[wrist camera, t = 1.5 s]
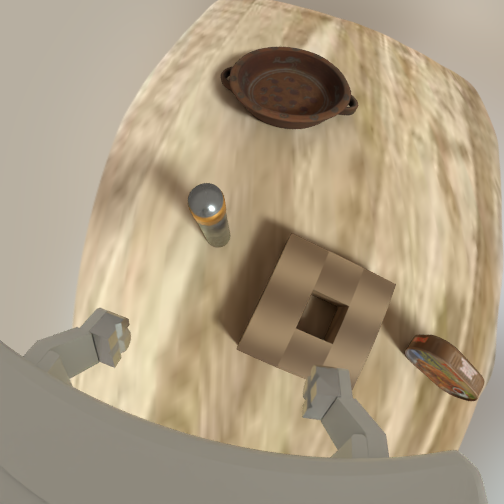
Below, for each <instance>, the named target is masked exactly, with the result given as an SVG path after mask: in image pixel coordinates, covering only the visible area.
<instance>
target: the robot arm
mask: <svg viewBox="0 0 504 504" xmlns="http://www.w3.org/2000/svg"><path fill="white" fill-rule="evenodd" d="M128 326H129V319H127V318H126V317H123V316H120V315H118V314H115V313H113V312H110V311H107V310H104V309H102V308H98V309H96V310H95V311H94V313H93V314H92V315H91V316H90V317H89V318H88V319H87V320H86V321H85V323H84V324H83V325H82V326H81V327H80V328H78V327H76V328H73V329H70V330H67V331H64V332H62V333H59V334H56V335H53V336H50V337H47V338H44V339H42V340H39V341H37V342H36V343H35V344H34V345H33V346H32V347H31V348H30V349H29V350H28V352H27V353H26V354H25V355H24V356H21V355H19V354H18V353H17V352H15V351H14V350H12V349H11V348H10V347H8V346H7V345H5V344H4V343H3V342H2V341H0V504H488V500H487V496H486V492H485V487H484V484H483V480H482V477H481V474H480V472H479V471H478V469H477V467H476V466H475V465H474V464H473V463H471V461H470V460H469V459H467V458H466V457H465V456H464V455H463V454H461V453H460V452H459V451H457V450H448V451H443V452H437V453H430V454H422V455H413V456H403V457H389V453H388V446H387V439H386V434H385V433H384V431H383V430H382V429H381V428H380V427H379V426H378V424H377V423H376V422H375V421H374V420H373V419H372V417H371V416H370V415H369V414H368V413H367V412H366V410H365V409H364V408H363V407H362V406H361V404H360V403H359V402H358V401H357V400H356V399H353V397H352V389H351V381H350V374H349V370H348V369H343V368H335V367H328V366H321V365H314V366H313V367H312V369H311V375H310V376H308V377H307V379H306V382H305V385H304V389H303V398H304V399H305V402H304V404H303V410H302V417H303V418H309V419H317V420H321V422H322V424H323V426H324V427H325V429H326V431H327V432H328V434H329V436H330V438H331V439H332V441H333V443H334V444H335V446H336V448H337V449H338V451H337V452H336V453H334V454H333V455H332V456H331V457H330V458H325V457H310V456H299V455H290V454H282V453H274V452H268V451H261V450H256V449H250V448H245V447H240V446H235V445H230V444H226V443H221V442H217V441H213V440H209V439H205V438H201V437H198V436H194V435H191V434H187V433H184V432H181V431H177V430H174V429H171V428H168V427H165V426H162V425H159V424H156V423H153V422H151V421H148V420H145V419H143V418H140V417H137V416H135V415H132V414H130V413H127V412H125V411H122V410H120V409H118V408H115V407H113V406H111V405H109V404H106V403H104V402H102V401H100V400H98V399H96V398H94V397H92V396H90V395H88V394H86V393H84V392H82V391H80V390H78V389H76V388H74V387H73V386H72V384H71V381H70V378H72V377H74V376H75V375H77V374H79V373H81V372H83V371H85V370H86V369H88V368H90V367H92V366H94V365H95V364H97V363H99V362H102V363H104V364H107V365H109V366H112V367H114V368H115V367H116V365H117V364H118V362H119V361H120V359H121V353H122V352H125V351H126V350H127V348H128V347H129V344H130V340H131V333H130V331H129V330H128V328H127V327H128Z"/></svg>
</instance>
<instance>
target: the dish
mask: <svg viewBox="0 0 504 504" xmlns="http://www.w3.org/2000/svg"><path fill="white" fill-rule="evenodd" d="M229 76H230V81H229V80H228V79H227V77H229ZM221 80H222V83H223V85H224V86H225V87H226V88H227V89H229V90H231V91H233V93H234V95H235V96H236V98H237V99H238V100H239V101H240V102H241V103H242V104H243V105H244V106H245V107H246V109H247V110H248V111H249V112H250V113H251V114H252V115H254V116H255V117H256V118H258V119H260V120H261V121H263V122H265V123H268V124H270V125H273V126H276V127H280V128H286V129H303V128H308V127H312V126H315V125H317V124H320V123H321V122H323V121H325V120H327V119H329V118H332V117H334V116H336V115H337V114H339V115H351V114H353V113H354V112H355V111H356V109H357V107H358V102H357V100H356V99H355V98H354V96H352V95H351V90H350V87H349V85H348V83H347V80H346V79H345V77H344V76H343V74H342V73H341V72H340V70H339V69H338V68H337V67H335V66H334V65H333V64H332V63H330V62H329V61H328V60H326V59H325V58H323V57H321V56H319V55H317V54H315V53H312V52H309V51H306V50H302V49H297V48H291V47H268V48H262V49H258V50H255V51H252V52H250V53H248V54H246V55H245V56H243V57H242V58H241V59H239V61H238V62H236V63H235V65H234V66H233V67H230V68H227V69H225V70H224V71H223V72H222V73H221ZM347 105H349V106H350V107H347Z"/></svg>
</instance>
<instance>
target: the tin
mask: <svg viewBox="0 0 504 504" xmlns="http://www.w3.org/2000/svg"><path fill="white" fill-rule="evenodd" d="M405 355H406V357H407V358H408V359H409V360H410V362H411V363H413V364H414V365H415V366H416V367H417V368H418V369H419V370H420V371H422V372H423V373H424V374H425V375H426V376H427V377H428V378H429V379H430V380H432V381H433V382H434V383H435V384H436V385H437V386H438V387H439V388H441V389H442V390H444V391H445V392H447V393H449V394H450V395H453V396H455V397H457V398H460V399H463V400H467V401H476V400H477V399H478V396H479V394H480V392H481V390H482V388H483V385H484V379H483V377H482V375H481V374H480V373H479V372H478V371H477V370H476V369H475V367H474V366H473V365H472V364H471V363H470V362H469V361H468V360H467V359H466V358H465V357H464V356H463V354H462V353H461V352H460V351H459V350H458V349H457V348H456V347H455V346H453V345H452V344H450V343H449V342H448V341H446V340H444V339H442V338H440V337H437V336H434V335H416V336H415V337H414V338H413V340H412V341H411V343H410V345H409V346H408V348H407V349H406V350H405Z"/></svg>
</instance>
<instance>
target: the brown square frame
mask: <svg viewBox="0 0 504 504" xmlns="http://www.w3.org/2000/svg"><path fill="white" fill-rule="evenodd" d="M395 286H396V284H394V283H392V282H390V281H388V280H386V279H384V278H382V277H380V276H378V275H377V274H375V273H373V272H371V271H369V270H367V269H365V268H363V267H361V266H359V265H357V264H355V263H353V262H351V261H349V260H347V259H345V258H343V257H341V256H338V255H336V254H334V253H332V252H330V251H328V250H326V249H324V248H322V247H320V246H318V245H316V244H314V243H312V242H310V241H307V240H305V239H303V238H301V237H299V236H297V235H295V234H293V233H291V235H290V237H289V239H288V240H287V242H286V244H285V247H284V249H283V251H282V253H281V255H280V258H279V260H278V262H277V264H276V266H275V268H274V270H273V273H272V275H271V277H270V279H269V281H268V283H267V285H266V288H265V290H264V292H263V294H262V296H261V298H260V300H259V302H258V304H257V306H256V309H255V311H254V313H253V315H252V317H251V319H250V321H249V323H248V325H247V327H246V329H245V331H244V333H243V335H242V337H241V339H240V342H239V344H238V346H237V350H239V351H241V352H243V353H245V354H248V355H250V356H252V357H254V358H256V359H259V360H261V361H263V362H265V363H268V364H270V365H272V366H275V367H277V368H279V369H282V370H284V371H287V372H289V373H292V374H294V375H296V376H299V377H301V378H304V379H307V377H308V376H310V375H311V369H312V367H313V366H314V365H321V366H328V367H335V368H343V369H348V370H349V374H350V381H351V389H353V387H354V385H355V383H356V381H357V379H358V377H359V375H360V373H361V371H362V369H363V367H364V364H365V362H366V360H367V358H368V356H369V353H370V351H371V349H372V346H373V344H374V342H375V339H376V337H377V334H378V332H379V329H380V327H381V324H382V322H383V319H384V317H385V314H386V311H387V309H388V306H389V303H390V300H391V297H392V295H393V292H394V289H395ZM311 295H314V296H316V297H318V298H320V299H322V300H324V301H327V302H329V303H331V304H333V305H335V306H337V307H338V309H337V311H336V314H335V316H334V318H333V320H332V323H331V325H330V327H329V330H328V332H327V334H326V336H325V338H324V340H322V339H319V338H317V337H315V336H312V335H310V334H308V333H305V332H303V331H301V330H299V329H296V327H297V325H298V322H299V320H300V318H301V316H302V314H303V312H304V309H305V307H306V305H307V303H308V300H309V298H310V296H311Z"/></svg>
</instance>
